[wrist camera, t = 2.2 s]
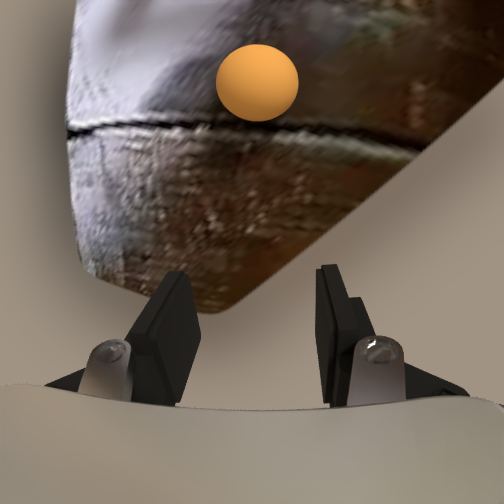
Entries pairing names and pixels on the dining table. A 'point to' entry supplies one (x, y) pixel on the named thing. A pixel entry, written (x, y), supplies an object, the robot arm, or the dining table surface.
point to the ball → (257, 82)
